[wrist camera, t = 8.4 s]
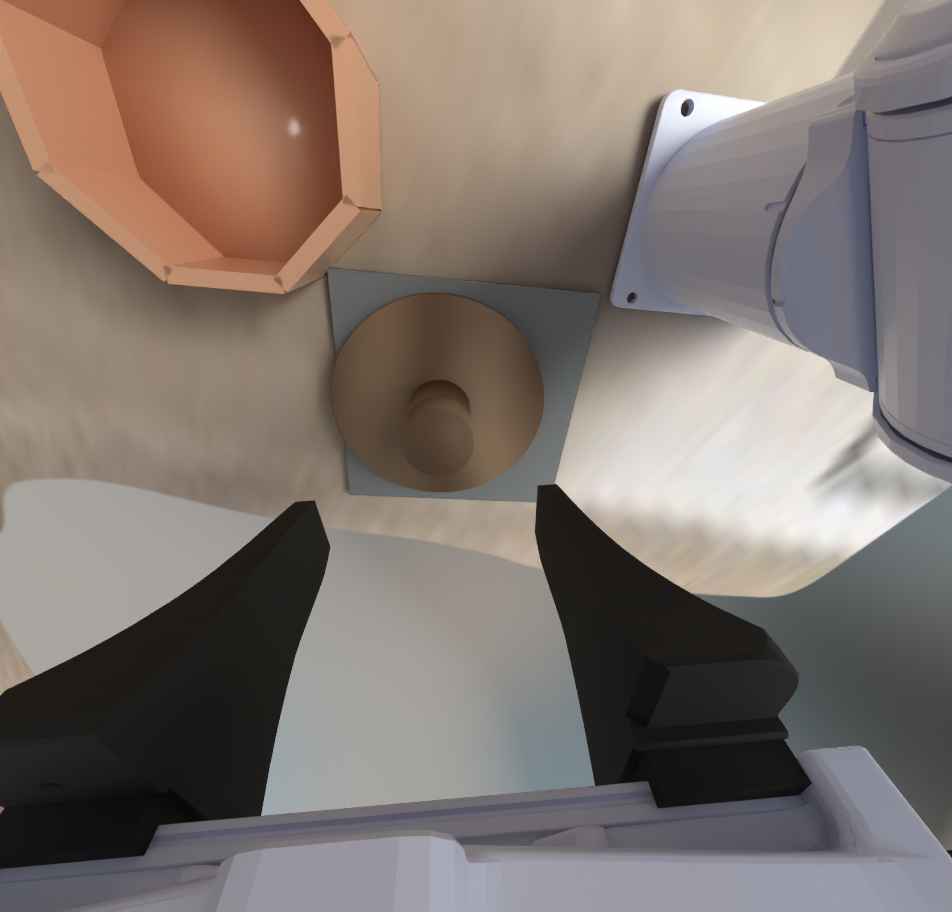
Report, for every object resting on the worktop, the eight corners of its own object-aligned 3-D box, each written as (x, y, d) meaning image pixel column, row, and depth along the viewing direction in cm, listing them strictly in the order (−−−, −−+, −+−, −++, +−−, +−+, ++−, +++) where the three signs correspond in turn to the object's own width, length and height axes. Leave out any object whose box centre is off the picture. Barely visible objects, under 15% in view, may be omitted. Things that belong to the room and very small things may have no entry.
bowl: (374, -35, 13) (343, -140, 9) (384, 284, 18) (366, 301, 14) (52, -90, 12) (-134, -233, 8) (159, 263, 17) (77, 276, 13)
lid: (532, 272, 18) (557, 288, 14) (546, 466, 24) (567, 520, 20) (302, 314, 18) (257, 343, 14) (372, 495, 24) (355, 554, 20)
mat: (598, 293, 19) (601, 294, 19) (548, 499, 26) (549, 502, 25) (329, 267, 18) (327, 268, 17) (351, 490, 24) (349, 494, 24)
